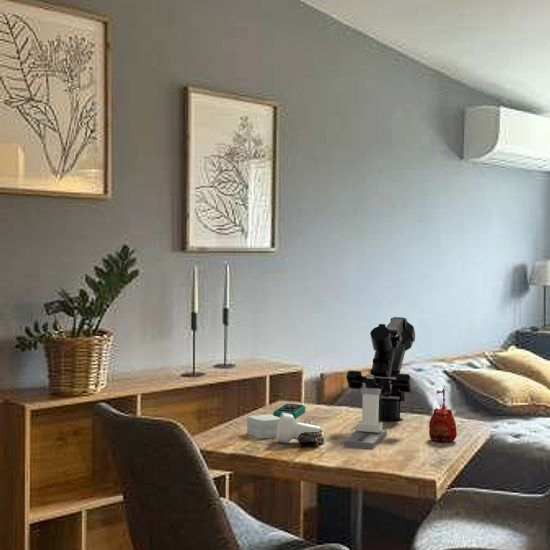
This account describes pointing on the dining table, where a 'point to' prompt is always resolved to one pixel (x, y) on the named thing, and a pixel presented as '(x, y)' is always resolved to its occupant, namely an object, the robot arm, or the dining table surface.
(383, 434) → the fader console
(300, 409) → the digital multimeter
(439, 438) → the red clay folk toy
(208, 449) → the dining table surface
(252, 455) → the dining table surface
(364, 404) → the fader tab
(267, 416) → the small box
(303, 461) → the dining table surface
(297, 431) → the spotlight
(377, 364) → the robot arm
